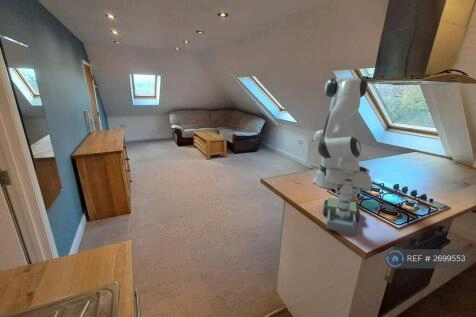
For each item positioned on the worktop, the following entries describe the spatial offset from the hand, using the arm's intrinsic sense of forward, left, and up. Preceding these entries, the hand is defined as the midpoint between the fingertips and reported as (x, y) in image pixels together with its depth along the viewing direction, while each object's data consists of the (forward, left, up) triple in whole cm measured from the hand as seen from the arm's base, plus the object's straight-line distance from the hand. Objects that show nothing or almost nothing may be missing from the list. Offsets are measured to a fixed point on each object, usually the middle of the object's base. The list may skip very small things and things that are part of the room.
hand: (346, 195), depth 106 cm
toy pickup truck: (-6, 0, -17) cm, 18 cm away
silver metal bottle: (-1, 0, -12) cm, 13 cm away
